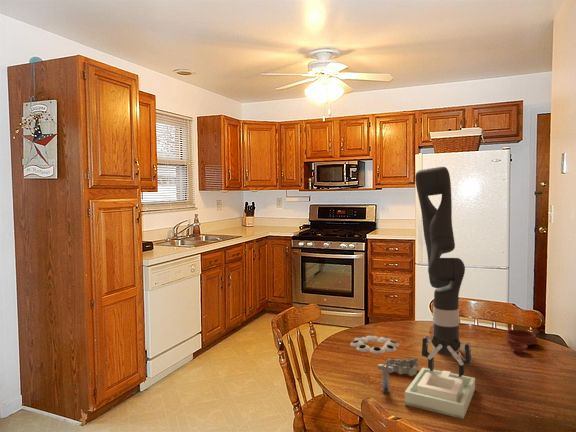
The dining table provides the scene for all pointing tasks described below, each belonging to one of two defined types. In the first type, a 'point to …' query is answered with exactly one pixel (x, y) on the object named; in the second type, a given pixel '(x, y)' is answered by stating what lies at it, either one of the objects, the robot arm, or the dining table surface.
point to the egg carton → (404, 366)
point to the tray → (437, 403)
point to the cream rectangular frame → (441, 386)
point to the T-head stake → (385, 376)
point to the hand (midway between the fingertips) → (445, 373)
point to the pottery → (520, 340)
